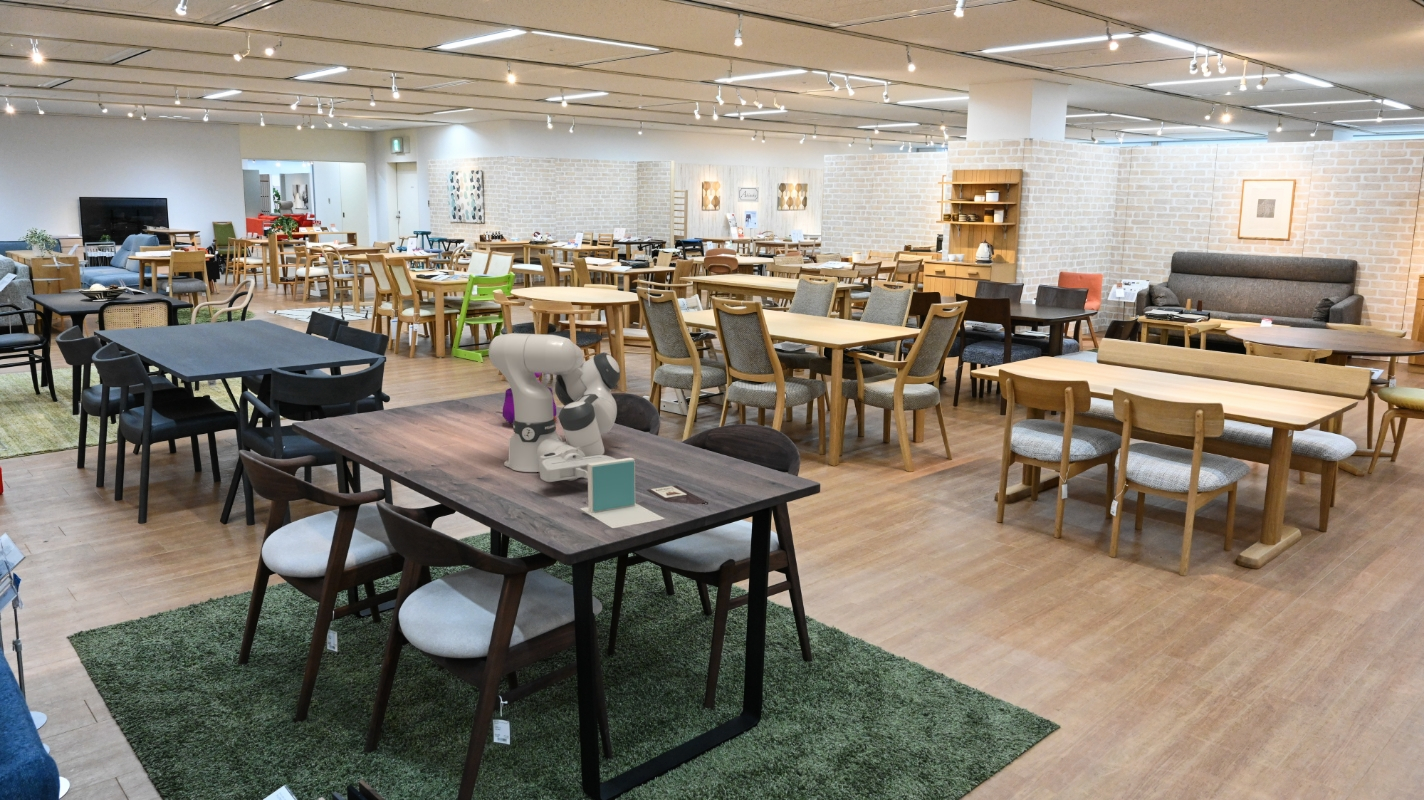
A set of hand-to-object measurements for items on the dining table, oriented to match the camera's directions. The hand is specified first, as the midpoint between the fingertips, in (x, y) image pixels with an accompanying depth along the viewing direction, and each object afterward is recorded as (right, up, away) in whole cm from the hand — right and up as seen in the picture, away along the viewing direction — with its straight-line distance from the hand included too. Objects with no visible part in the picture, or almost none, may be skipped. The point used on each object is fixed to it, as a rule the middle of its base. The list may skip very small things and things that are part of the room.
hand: (591, 474), depth 253 cm
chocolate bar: (+22, -7, +2) cm, 23 cm away
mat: (+9, -9, -13) cm, 18 cm away
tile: (+6, -8, -9) cm, 13 cm away
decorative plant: (-33, +10, +91) cm, 98 cm away
